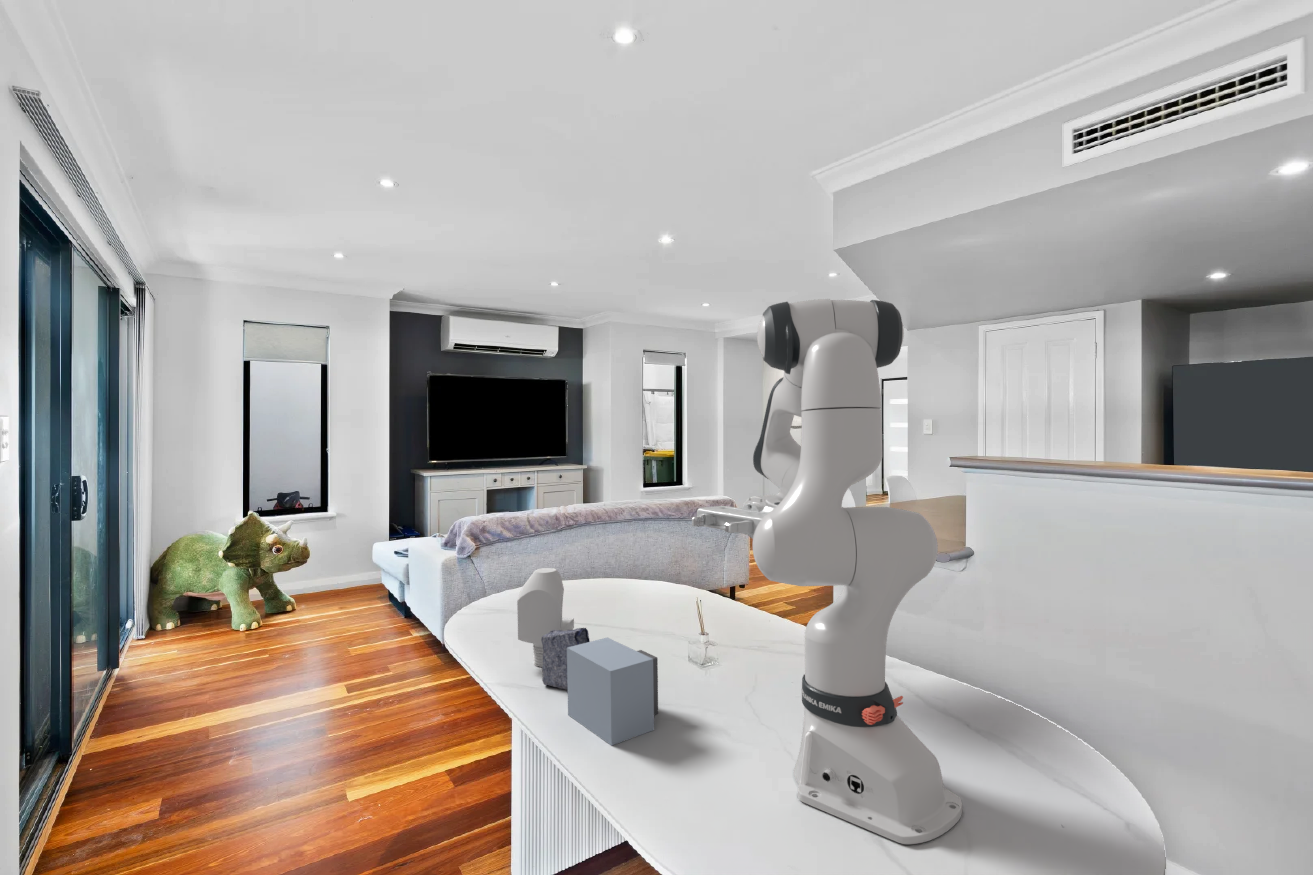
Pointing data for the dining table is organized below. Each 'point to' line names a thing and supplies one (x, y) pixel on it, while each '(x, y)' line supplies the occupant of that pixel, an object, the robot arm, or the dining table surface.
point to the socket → (610, 689)
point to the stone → (559, 654)
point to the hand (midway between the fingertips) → (710, 525)
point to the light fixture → (541, 609)
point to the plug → (654, 679)
